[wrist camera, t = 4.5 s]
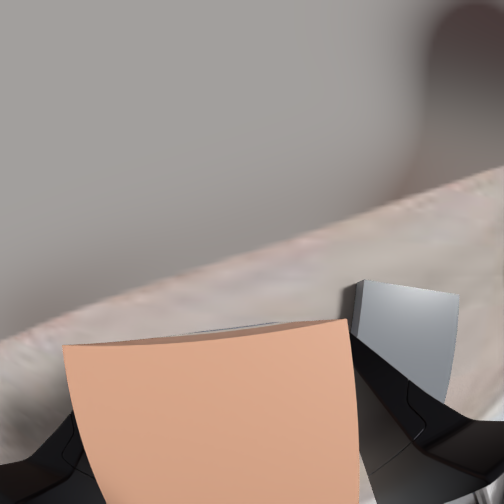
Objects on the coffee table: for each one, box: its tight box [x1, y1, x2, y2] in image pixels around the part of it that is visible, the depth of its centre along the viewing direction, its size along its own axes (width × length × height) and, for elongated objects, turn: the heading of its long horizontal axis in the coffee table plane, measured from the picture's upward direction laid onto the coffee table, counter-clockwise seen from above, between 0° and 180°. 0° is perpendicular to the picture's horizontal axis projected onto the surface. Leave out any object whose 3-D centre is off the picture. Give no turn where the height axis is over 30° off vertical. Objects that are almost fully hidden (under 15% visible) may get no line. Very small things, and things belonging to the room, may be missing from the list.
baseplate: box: [351, 280, 459, 404], centre depth 14 cm, size 8×8×1 cm
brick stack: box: [62, 319, 359, 504], centre depth 9 cm, size 4×4×13 cm
